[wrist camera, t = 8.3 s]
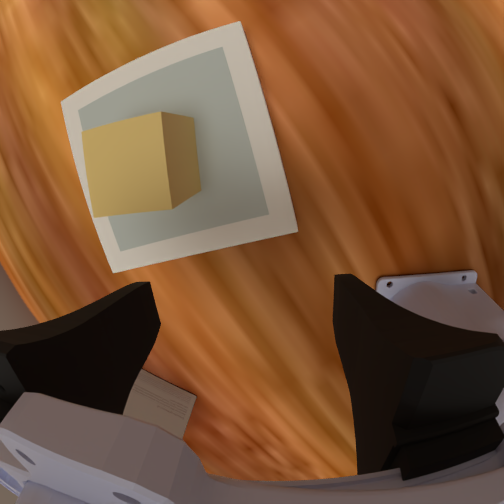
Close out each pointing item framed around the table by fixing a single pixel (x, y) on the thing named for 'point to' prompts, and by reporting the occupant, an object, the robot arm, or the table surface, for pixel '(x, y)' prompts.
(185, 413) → the supplement box
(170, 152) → the block
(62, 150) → the table surface
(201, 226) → the base
